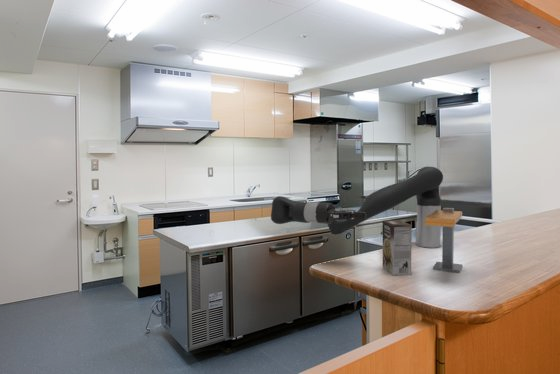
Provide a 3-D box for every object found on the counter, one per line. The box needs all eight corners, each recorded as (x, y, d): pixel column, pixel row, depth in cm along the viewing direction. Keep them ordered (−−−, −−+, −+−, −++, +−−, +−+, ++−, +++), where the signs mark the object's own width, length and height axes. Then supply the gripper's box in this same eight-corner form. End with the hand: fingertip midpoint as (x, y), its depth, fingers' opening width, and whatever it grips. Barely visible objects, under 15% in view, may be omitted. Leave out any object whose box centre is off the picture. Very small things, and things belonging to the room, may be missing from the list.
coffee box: (381, 267, 128) (381, 220, 127) (400, 266, 128) (400, 219, 127) (392, 275, 119) (392, 224, 118) (412, 274, 119) (412, 224, 118)
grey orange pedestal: (424, 281, 112) (424, 214, 111) (436, 263, 131) (437, 206, 130) (453, 285, 108) (454, 216, 107) (462, 266, 127) (463, 207, 125)
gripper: (327, 220, 142) (371, 224, 133) (310, 225, 131) (358, 229, 122) (326, 200, 142) (371, 202, 133) (310, 204, 131) (358, 206, 122)
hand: (365, 215), depth 127 cm, fingers closed
